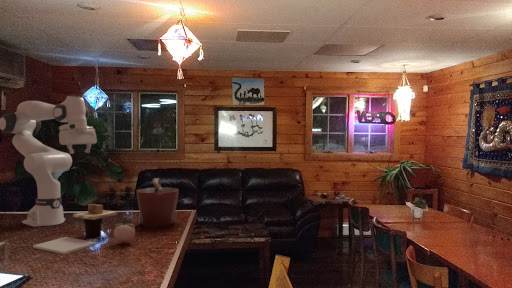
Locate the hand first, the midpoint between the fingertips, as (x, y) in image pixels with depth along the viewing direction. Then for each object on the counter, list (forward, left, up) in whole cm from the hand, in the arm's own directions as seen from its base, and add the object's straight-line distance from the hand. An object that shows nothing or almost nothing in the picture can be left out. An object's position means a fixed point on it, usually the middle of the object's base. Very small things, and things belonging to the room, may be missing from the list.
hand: (80, 153), depth 202 cm
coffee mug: (+19, -7, -40) cm, 44 cm away
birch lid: (+19, -7, -29) cm, 35 cm away
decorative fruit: (+41, -10, -40) cm, 58 cm away
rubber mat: (+21, -25, -39) cm, 51 cm away
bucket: (+27, +27, -40) cm, 55 cm away
